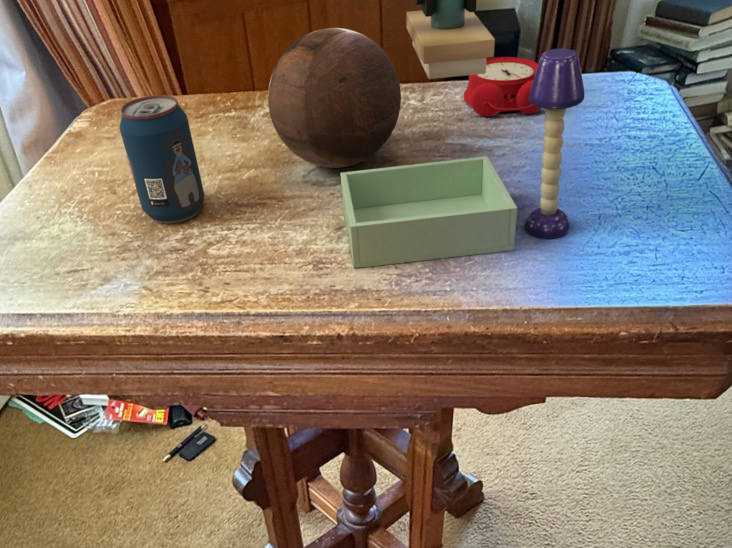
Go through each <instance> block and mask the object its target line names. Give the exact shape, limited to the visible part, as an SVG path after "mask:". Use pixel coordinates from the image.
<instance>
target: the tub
mask: <svg viewBox="0 0 732 548" xmlns="http://www.w3.org/2000/svg"><path fill="white" fill-rule="evenodd" d="M340 184H341V194H342V195H341V196H342V207H343V214H344V221H345V226H346V231H347V237H348V238H347V239H348V243H349V249H350V256H351V261H352V266H353V269H359V268H368V267H369V268H370V267H377V266H386V265H394V264H405V263H413V262H422V261H431V260H440V259H448V258H449V259H450V258H457V257H467V256H475V255H483V254H484V255H485V254H493V253H501V252H510V251H511V252H512V251H515V243H516V232H517V231H516V229H517V217H518V206H517V205H516V203H515V201H514V200H513V197H512V196H511V195H510V192H509V191H508V190H507V188H506V186H505V184H504V182H503V181H502V179H501V177H500V175H499V173H498V172H497V170H496V169H495V167H494V166H493V163H492V161H491V160H490V158H489V157H488V156H487V155H486V156H477V157H476V156H475V157H469V158H459V159H451V160H441V161H434V162H433V161H432V162H423V163H416V164H406V165H397V166H389V167H387V166H386V167H379V168H378V167H377V168H370V169H361V170H353V171H345V172H340Z"/></svg>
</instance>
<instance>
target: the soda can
mask: <svg viewBox="0 0 732 548" xmlns="http://www.w3.org/2000/svg"><path fill="white" fill-rule="evenodd" d="M120 114H121V118H120V123H119V132H120V135H121V139H122V143H123V147H124V151H125V154H126V158H127V160H128V164H129V167H130V171H131V175H132V178H133V183H134V185H135V189H136V192H137V196H138V200H139V204H140V207H141V209H142V211H143V212H144V213H145V215H147V216H148V217H149V218H150V219H151V220H152V221H154V222H156V223H159V224H168V225H169V224H177V223H182V222H186V221H187V220H190V219H192V218H193V217H196V215H197V214H199V213H200V211H201V208H202V205H203V203H204V200H205V191H204V186H203V183H202V177H201V173H200V169H199V164H198V160H197V155H196V150H195V146H194V141H193V136H192V132H191V128H190V123H189V118H188V115H187V113H186V112H185V111H184V110H183V108H182V107H181V106H180V105H179V101H178V99H177V98H176V97H174V96H172V95H167V94H156V95H149V96H142V97H139V98H135V99H133V100H130V101H128V102H126V103H125V104H123V106H122V107H121V108H120Z"/></svg>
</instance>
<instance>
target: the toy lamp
mask: <svg viewBox="0 0 732 548" xmlns="http://www.w3.org/2000/svg"><path fill="white" fill-rule="evenodd" d="M537 64H538V67H537V70H536V73H535V76H534V80H533V83H532V86H531V89H530V93H529V101H530V103H531V104H532V105H534V106H536V107H538V108H542V109H543V110H544V113H545V117H546V119H545V121H544V124H543V131H544V134H545V135H544V137H543V141H542V147H543V150H544V151H543V153H542V156H541V163H542V166H543V167H542V169H541V172H540V177H541V181H542V182H541V185H540V195H541V196H540V197H541V198H540V202H539V207H538V208H535V209H534V210H532V211H531V212H530V213H529V214H528V216H527V217H526V220H525V222H524V230H525V231H526V233H527V234H529V235H531V236H533V237H536V238H541V239H556V238H560V237H563V236H564V235H566V234H567V233H568V232H569V231H570V227H571V226H570V220H569V217H568V216H567V214H566V213H565V212H564V211H563V210H562V209H560V208H559V206H560V205H559V203H560V202H559V198H558V196H559V194H560V182H559V181H560V180H561V175H562V171H561V168H560V166H561V164H562V160H563V156H562V155H563V154H562V151H561V150H563V149H562V148H563V145H564V138H563V133H564V131H565V120H564V117H565V116H566V111H567V109H570V108H573V107H577V106H578V105H580V104H581V103H583V101H584V100H585V86H584V80H583V74H582V68H581V63H580V58H579V55H578V53H577V51H575V50H574V49H570V48H553V49H549V50H546V51H544V52H543V53H542V54H541V55H540V58H539V61H538V63H537Z"/></svg>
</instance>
